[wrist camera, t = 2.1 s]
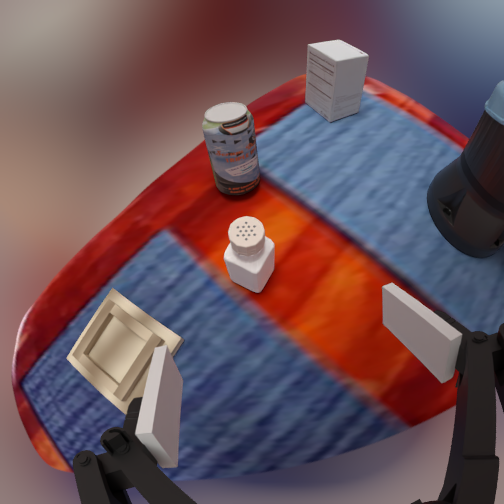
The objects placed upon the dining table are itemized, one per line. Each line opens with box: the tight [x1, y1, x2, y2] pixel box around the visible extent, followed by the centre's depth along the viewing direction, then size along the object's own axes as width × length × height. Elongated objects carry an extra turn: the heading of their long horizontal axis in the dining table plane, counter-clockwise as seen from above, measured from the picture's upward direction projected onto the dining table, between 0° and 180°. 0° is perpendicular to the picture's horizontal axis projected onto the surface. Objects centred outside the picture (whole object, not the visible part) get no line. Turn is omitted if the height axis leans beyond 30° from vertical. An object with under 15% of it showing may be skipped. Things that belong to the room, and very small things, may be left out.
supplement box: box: [305, 40, 369, 122], centre depth 43 cm, size 7×7×13 cm
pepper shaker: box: [224, 216, 274, 293], centre depth 30 cm, size 4×4×10 cm
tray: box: [67, 288, 184, 414], centre depth 30 cm, size 11×11×2 cm
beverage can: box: [202, 102, 260, 195], centre depth 36 cm, size 6×7×12 cm
